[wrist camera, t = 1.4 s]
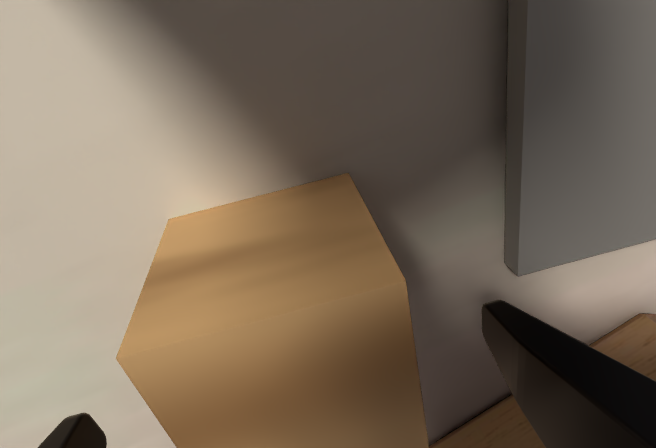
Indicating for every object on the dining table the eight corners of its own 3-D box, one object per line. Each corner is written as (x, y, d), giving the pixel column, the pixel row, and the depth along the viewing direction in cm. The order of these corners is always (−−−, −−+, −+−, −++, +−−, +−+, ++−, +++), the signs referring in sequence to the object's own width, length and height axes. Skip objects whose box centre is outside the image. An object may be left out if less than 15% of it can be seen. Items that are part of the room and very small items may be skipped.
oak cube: (374, 306, 14) (428, 447, 10) (229, 345, 14) (217, 507, 9) (347, 171, 11) (405, 280, 7) (169, 217, 11) (115, 358, 7)
